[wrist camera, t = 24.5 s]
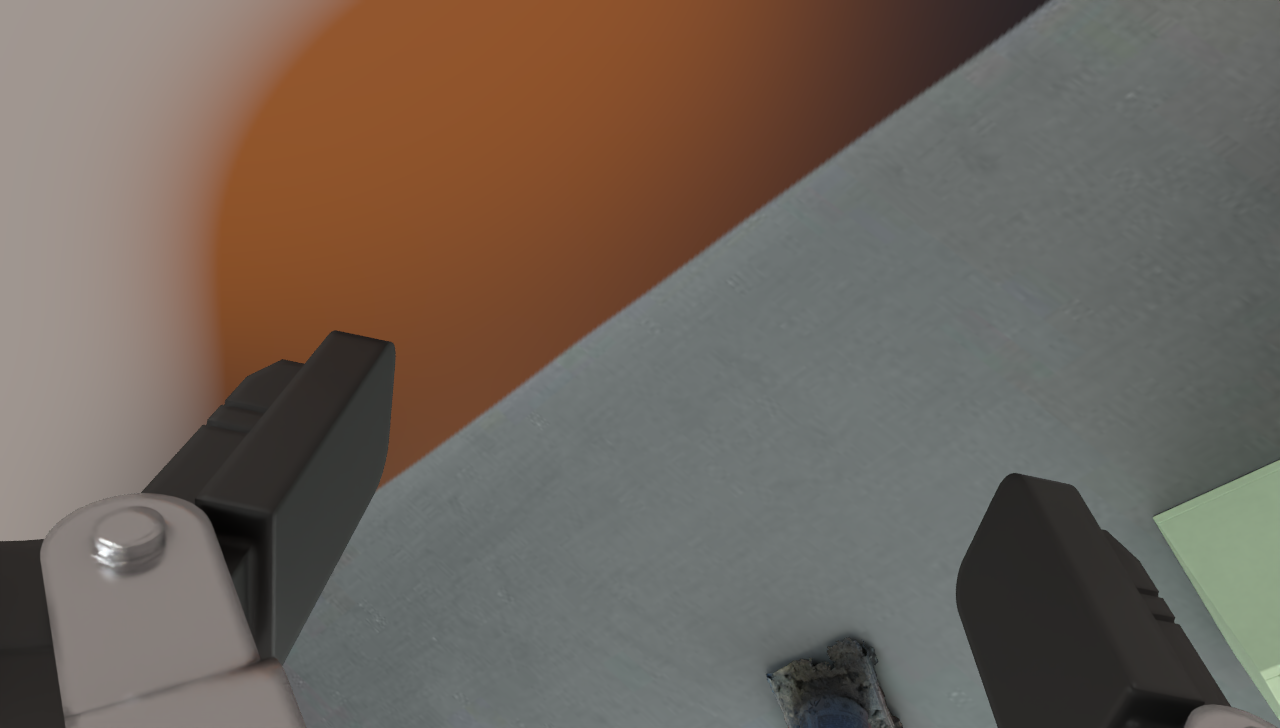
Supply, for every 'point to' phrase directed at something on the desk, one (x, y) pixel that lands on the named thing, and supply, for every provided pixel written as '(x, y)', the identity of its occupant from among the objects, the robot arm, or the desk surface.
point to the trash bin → (1237, 567)
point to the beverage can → (833, 691)
